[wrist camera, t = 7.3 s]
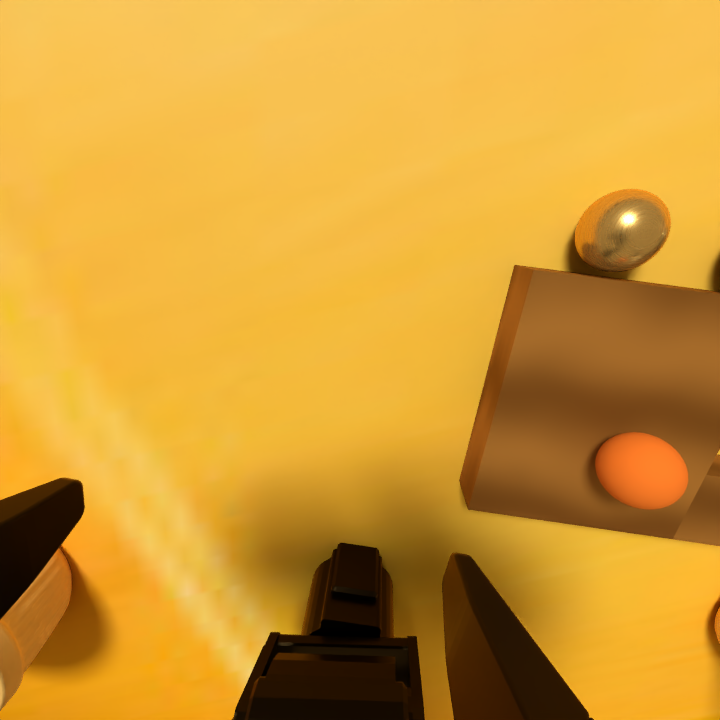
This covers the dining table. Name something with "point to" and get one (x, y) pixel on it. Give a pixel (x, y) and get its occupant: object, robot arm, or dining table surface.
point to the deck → (597, 401)
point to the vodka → (717, 624)
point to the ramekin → (32, 622)
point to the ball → (641, 470)
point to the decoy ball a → (622, 230)
